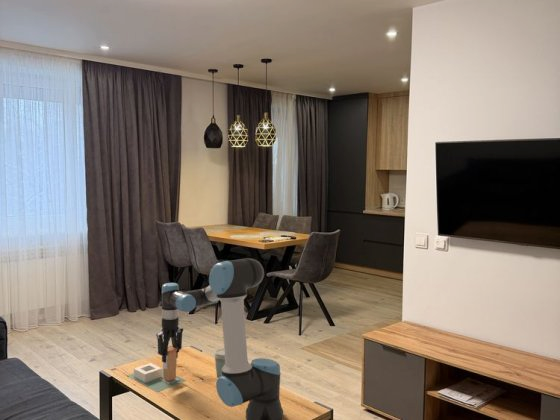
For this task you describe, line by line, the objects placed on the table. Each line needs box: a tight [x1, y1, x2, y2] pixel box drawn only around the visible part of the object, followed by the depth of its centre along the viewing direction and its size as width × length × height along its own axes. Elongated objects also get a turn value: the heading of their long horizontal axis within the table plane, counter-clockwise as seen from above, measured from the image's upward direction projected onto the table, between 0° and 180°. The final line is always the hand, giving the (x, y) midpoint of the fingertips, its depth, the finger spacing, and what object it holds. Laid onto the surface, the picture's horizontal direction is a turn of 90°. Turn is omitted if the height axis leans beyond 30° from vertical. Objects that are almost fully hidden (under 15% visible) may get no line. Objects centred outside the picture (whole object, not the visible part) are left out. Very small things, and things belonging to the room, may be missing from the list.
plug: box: [163, 345, 177, 381], centre depth 223 cm, size 5×5×14 cm
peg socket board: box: [126, 362, 187, 393], centre depth 226 cm, size 24×16×6 cm, turn 49°
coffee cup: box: [213, 348, 225, 379], centre depth 233 cm, size 8×8×12 cm
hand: (169, 366), depth 224 cm, fingers closed on plug, 4 cm apart
